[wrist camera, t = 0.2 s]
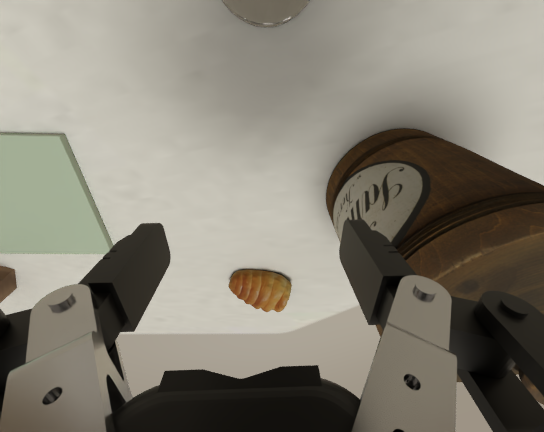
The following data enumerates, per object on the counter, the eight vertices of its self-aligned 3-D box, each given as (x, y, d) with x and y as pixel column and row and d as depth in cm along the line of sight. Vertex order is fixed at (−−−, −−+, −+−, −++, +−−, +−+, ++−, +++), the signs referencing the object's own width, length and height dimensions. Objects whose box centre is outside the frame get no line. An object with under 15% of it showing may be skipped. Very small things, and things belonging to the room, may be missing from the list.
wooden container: (325, 136, 26) (480, 325, 7) (466, 119, 25) (1048, 279, 6) (324, 242, 34) (395, 461, 15) (431, 231, 33) (644, 447, 14)
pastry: (225, 287, 39) (221, 308, 35) (238, 259, 35) (235, 278, 32) (278, 301, 41) (279, 321, 37) (294, 275, 37) (297, 294, 34)
